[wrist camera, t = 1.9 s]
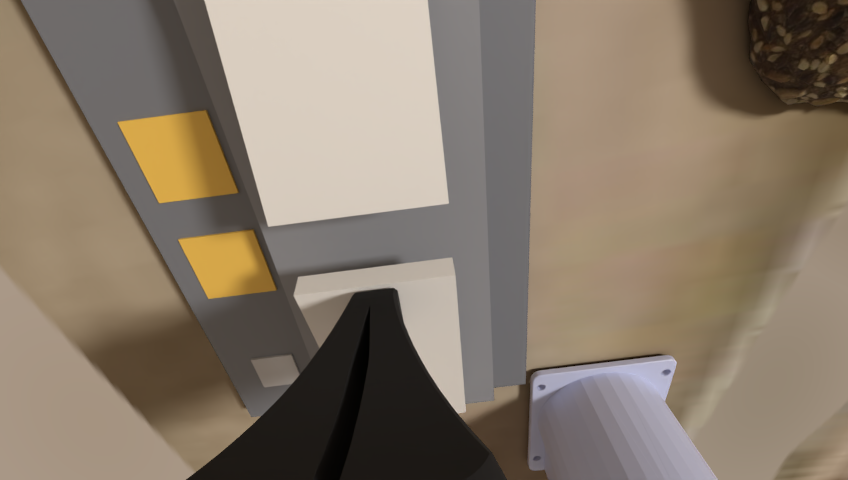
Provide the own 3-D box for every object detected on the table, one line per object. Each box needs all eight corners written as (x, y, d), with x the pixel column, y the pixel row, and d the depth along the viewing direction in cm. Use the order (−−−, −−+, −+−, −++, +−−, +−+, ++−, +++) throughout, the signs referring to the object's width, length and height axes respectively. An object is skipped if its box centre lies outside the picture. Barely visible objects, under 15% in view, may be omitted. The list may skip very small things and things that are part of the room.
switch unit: (520, 369, 22) (534, 408, 19) (257, 401, 22) (241, 443, 20) (531, -302, 9) (569, -396, 7) (-64, -213, 10) (-198, -279, 7)
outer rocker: (445, 192, 12) (448, 203, 10) (282, 213, 12) (268, 226, 11) (402, -201, 9) (401, -251, 7) (182, -169, 9) (144, -212, 7)
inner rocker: (461, 385, 19) (466, 412, 18) (359, 398, 19) (357, 425, 18) (450, 246, 13) (455, 275, 12) (300, 266, 13) (293, 295, 12)
